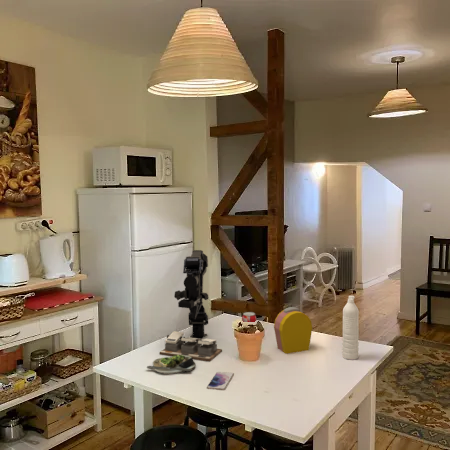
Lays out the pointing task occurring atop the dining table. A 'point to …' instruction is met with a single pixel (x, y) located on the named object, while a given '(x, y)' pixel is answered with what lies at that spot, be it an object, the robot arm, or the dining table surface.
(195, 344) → the switch console
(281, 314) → the alarm clock
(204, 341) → the switch
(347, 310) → the water bottle
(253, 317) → the soda can
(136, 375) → the dining table surface
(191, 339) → the switch middle
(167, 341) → the switch
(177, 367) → the salad plate
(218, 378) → the smartphone
